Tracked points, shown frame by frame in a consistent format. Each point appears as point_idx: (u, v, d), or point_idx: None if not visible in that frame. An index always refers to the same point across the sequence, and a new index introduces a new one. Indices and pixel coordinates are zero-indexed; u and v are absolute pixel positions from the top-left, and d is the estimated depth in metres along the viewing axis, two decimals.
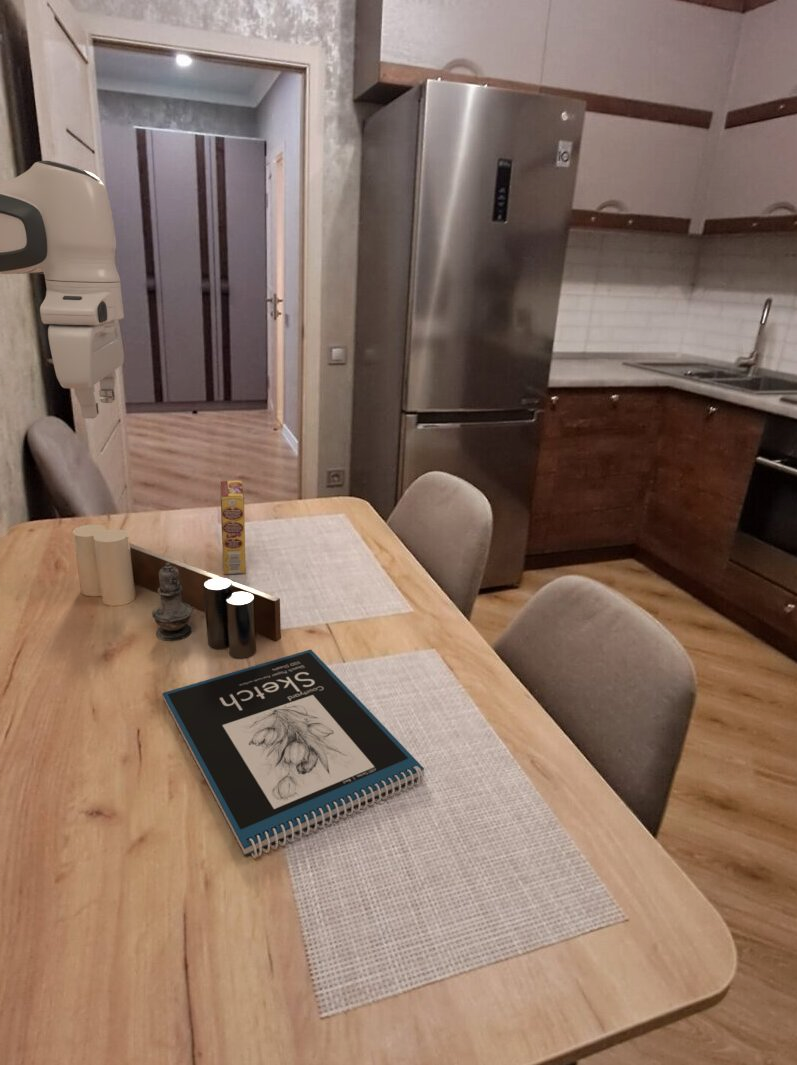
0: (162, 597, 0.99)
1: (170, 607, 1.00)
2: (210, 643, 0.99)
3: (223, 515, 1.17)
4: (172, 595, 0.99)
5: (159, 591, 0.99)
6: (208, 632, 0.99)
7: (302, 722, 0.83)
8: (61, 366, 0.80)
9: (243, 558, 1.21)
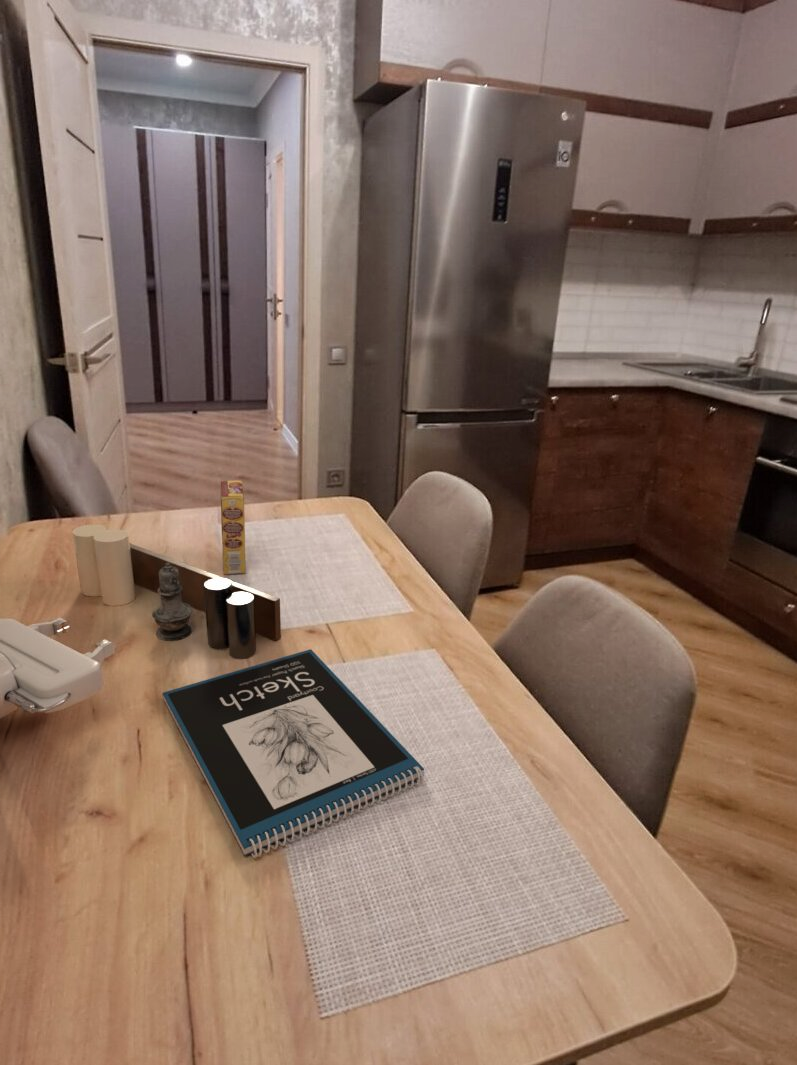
0: (162, 597, 0.99)
1: (170, 607, 1.00)
2: (210, 643, 0.99)
3: (223, 515, 1.17)
4: (172, 595, 0.99)
5: (159, 591, 0.99)
6: (208, 632, 0.99)
7: (302, 722, 0.83)
8: None
9: (243, 558, 1.21)
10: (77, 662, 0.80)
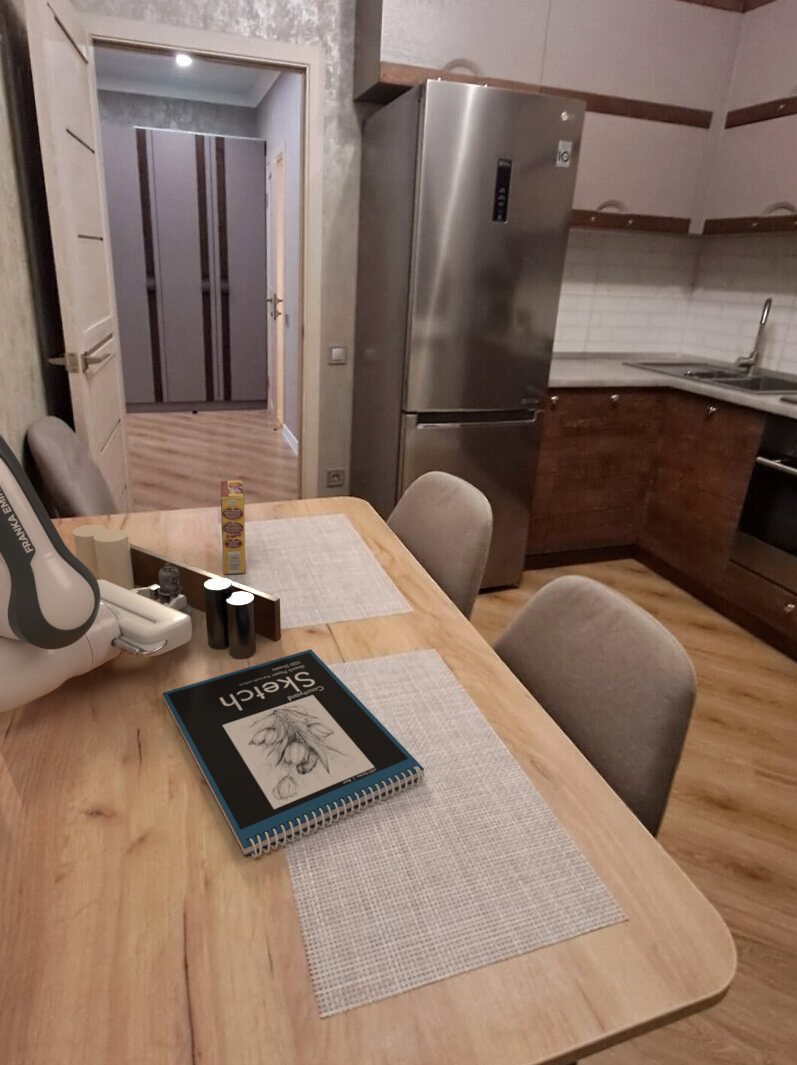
0: (162, 597, 0.99)
1: None
2: (210, 643, 0.99)
3: (223, 515, 1.17)
4: (172, 595, 0.99)
5: (159, 591, 0.99)
6: (208, 632, 0.99)
7: (302, 722, 0.83)
8: None
9: (243, 558, 1.21)
10: (170, 614, 0.92)
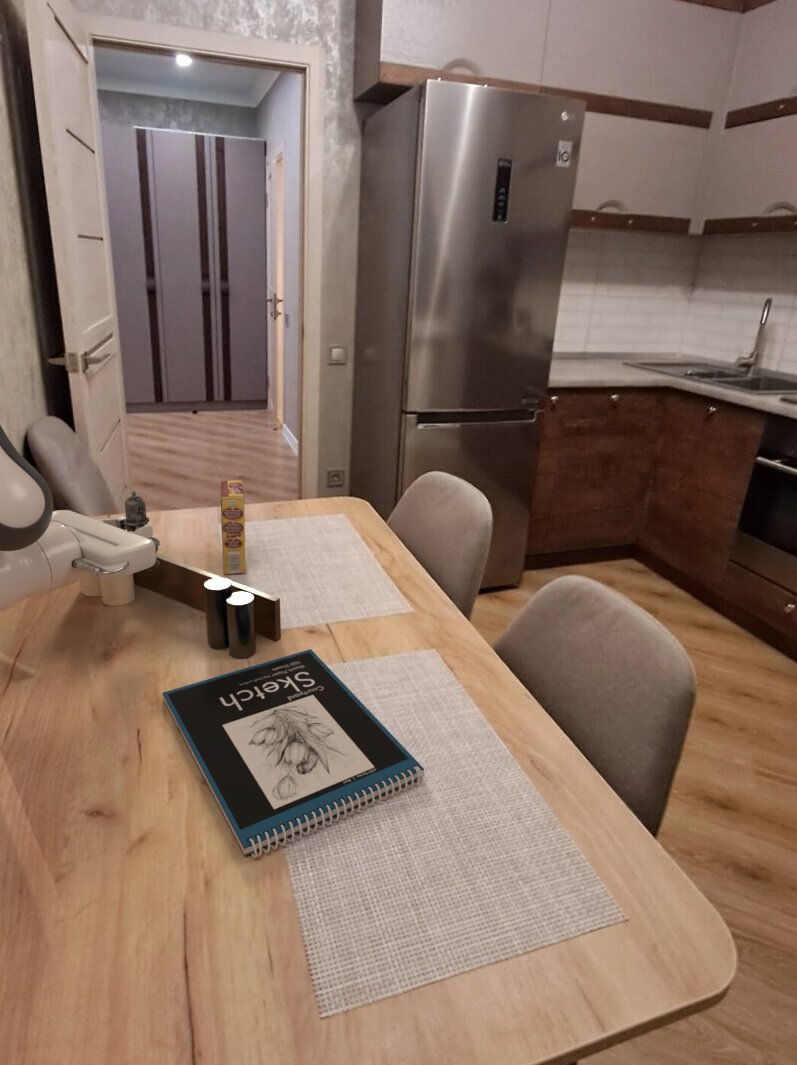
0: (128, 527, 0.98)
1: None
2: (210, 643, 0.99)
3: (223, 515, 1.17)
4: None
5: (125, 521, 0.98)
6: (208, 632, 0.99)
7: (302, 722, 0.83)
8: None
9: (243, 558, 1.21)
10: (133, 539, 0.90)
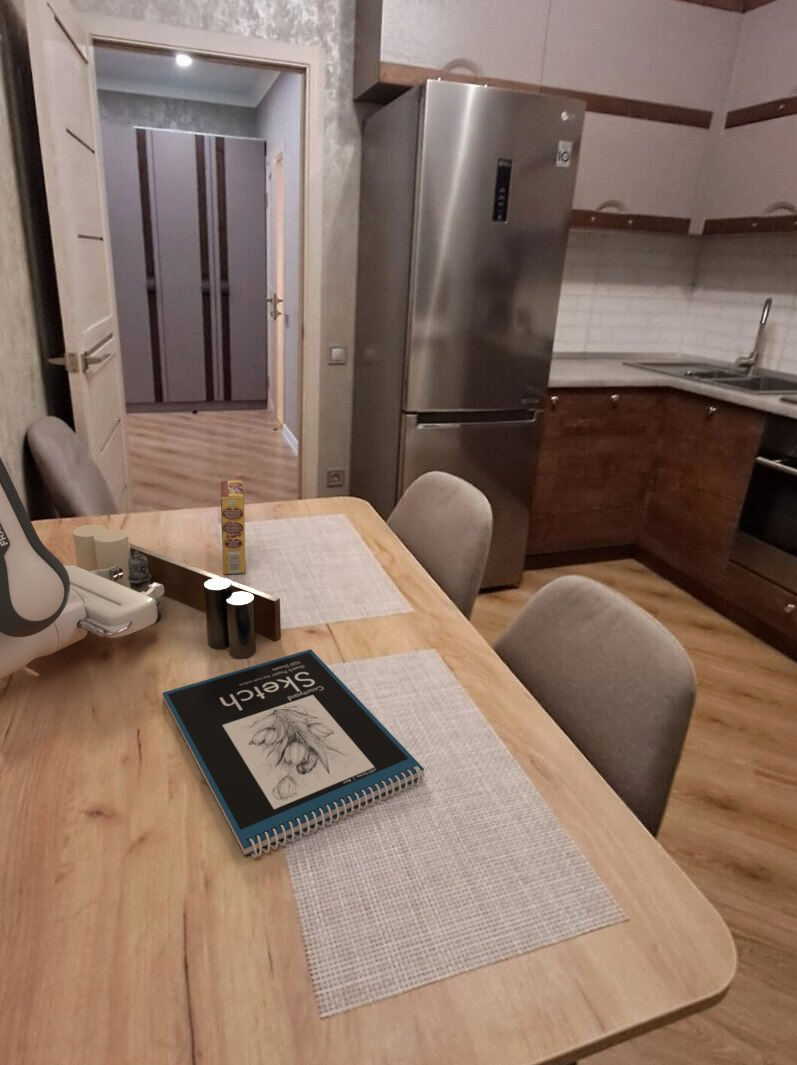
0: (131, 584, 1.02)
1: None
2: (210, 643, 0.99)
3: (223, 515, 1.17)
4: (141, 583, 1.02)
5: (128, 579, 1.02)
6: (208, 632, 0.99)
7: (302, 722, 0.83)
8: None
9: (243, 558, 1.21)
10: (135, 598, 0.95)
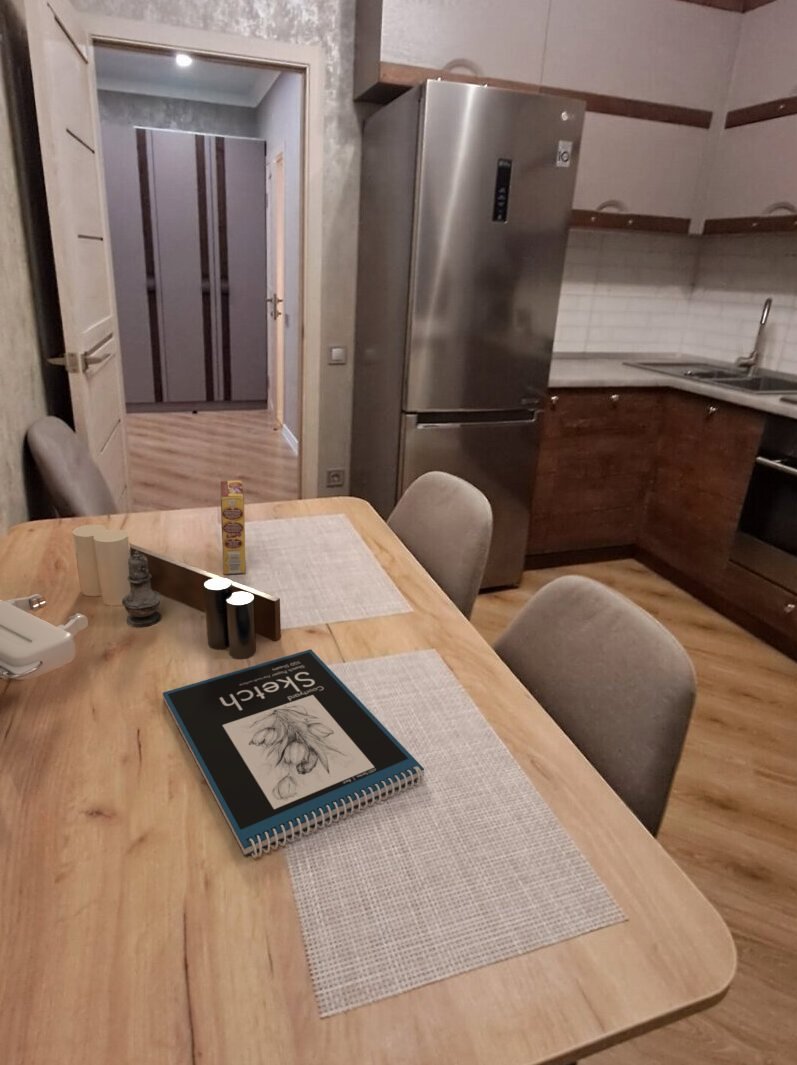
0: (131, 584, 1.02)
1: (140, 594, 1.03)
2: (210, 643, 0.99)
3: (223, 515, 1.17)
4: (141, 583, 1.02)
5: (128, 579, 1.02)
6: (208, 632, 0.99)
7: (302, 722, 0.83)
8: None
9: (243, 558, 1.21)
10: (50, 633, 0.84)
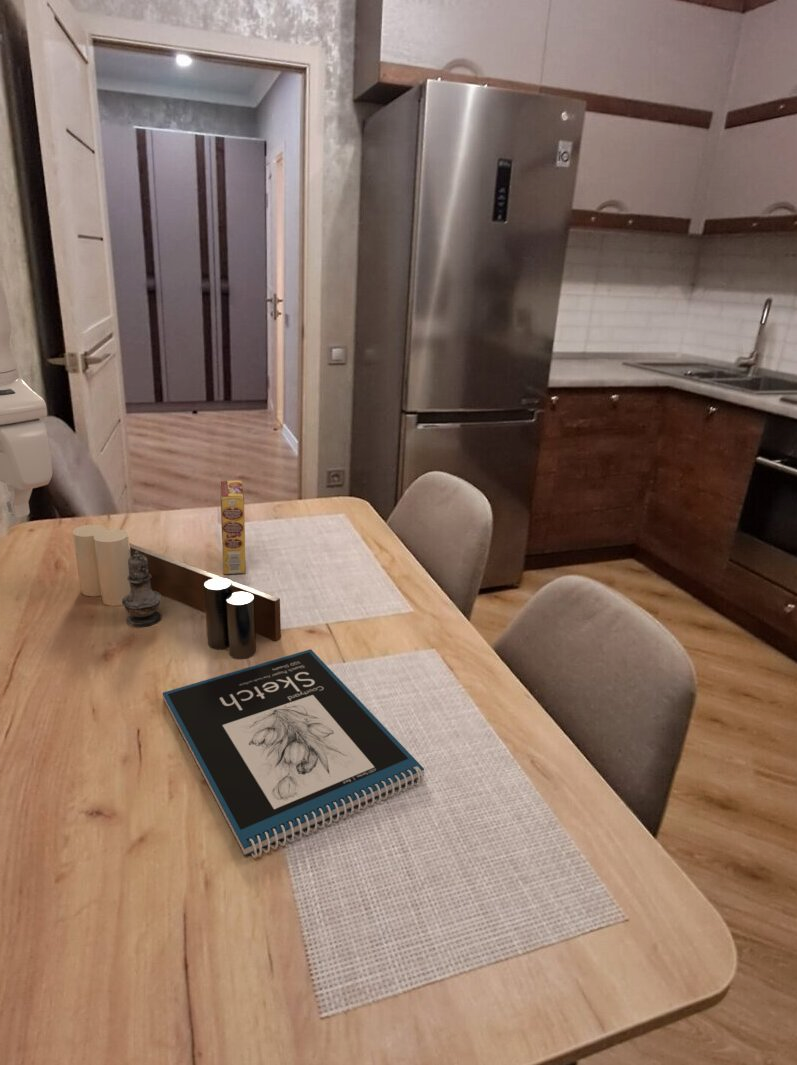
0: (131, 584, 1.02)
1: (140, 594, 1.03)
2: (210, 643, 0.99)
3: (223, 515, 1.17)
4: (141, 583, 1.02)
5: (128, 579, 1.02)
6: (208, 632, 0.99)
7: (302, 722, 0.83)
8: (26, 467, 0.74)
9: (243, 558, 1.21)
10: None
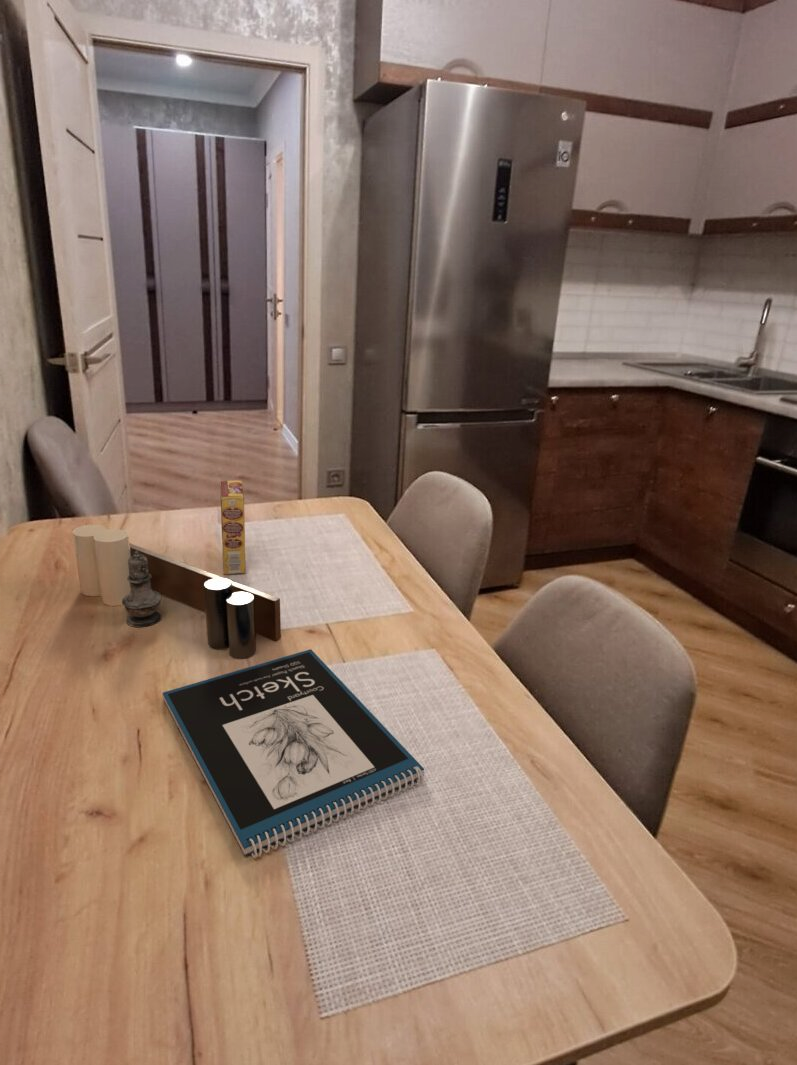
0: (131, 584, 1.02)
1: (140, 594, 1.03)
2: (210, 643, 0.99)
3: (223, 515, 1.17)
4: (141, 583, 1.02)
5: (128, 579, 1.02)
6: (208, 632, 0.99)
7: (302, 722, 0.83)
8: None
9: (243, 558, 1.21)
10: None
